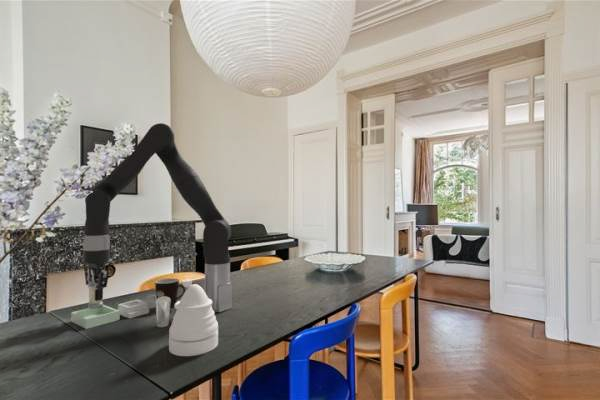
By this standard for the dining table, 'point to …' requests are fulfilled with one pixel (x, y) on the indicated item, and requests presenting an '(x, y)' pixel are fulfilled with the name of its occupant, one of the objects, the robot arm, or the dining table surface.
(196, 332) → the honey pot
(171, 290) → the coffee mug
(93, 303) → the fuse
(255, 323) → the dining table surface
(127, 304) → the holder
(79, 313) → the tray
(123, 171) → the robot arm
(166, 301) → the milkshake
